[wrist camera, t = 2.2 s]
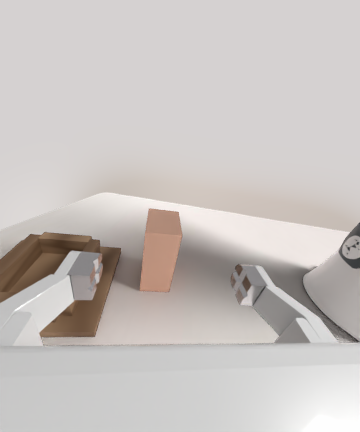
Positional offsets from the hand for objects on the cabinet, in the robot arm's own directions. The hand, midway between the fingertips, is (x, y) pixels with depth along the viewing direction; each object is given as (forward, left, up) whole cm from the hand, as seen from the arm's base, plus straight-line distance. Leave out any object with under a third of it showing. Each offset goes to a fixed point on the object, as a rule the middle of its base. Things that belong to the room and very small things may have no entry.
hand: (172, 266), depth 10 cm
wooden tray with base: (+17, -5, -15) cm, 23 cm away
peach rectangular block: (+4, -12, -16) cm, 20 cm away
